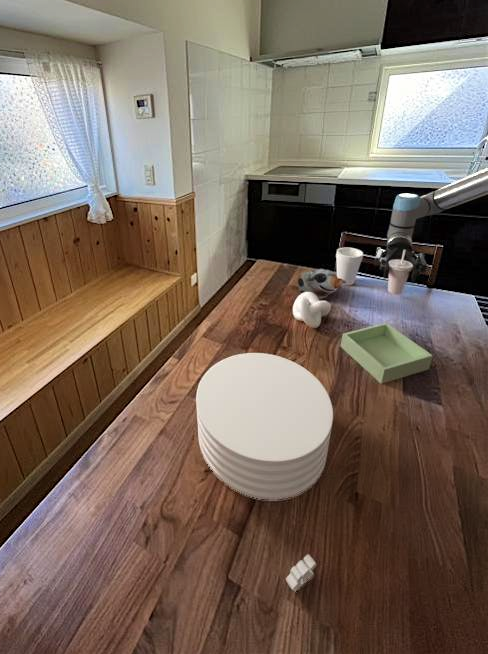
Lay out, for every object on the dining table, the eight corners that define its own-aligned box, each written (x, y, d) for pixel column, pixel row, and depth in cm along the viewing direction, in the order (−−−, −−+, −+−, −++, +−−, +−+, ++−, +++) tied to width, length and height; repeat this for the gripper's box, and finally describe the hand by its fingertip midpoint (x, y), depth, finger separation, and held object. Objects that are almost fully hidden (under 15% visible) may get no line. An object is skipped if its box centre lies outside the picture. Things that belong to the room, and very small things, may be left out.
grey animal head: (332, 284, 134) (349, 263, 123) (332, 309, 126) (351, 289, 116) (295, 273, 135) (309, 251, 124) (294, 297, 127) (309, 277, 116)
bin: (428, 369, 91) (433, 355, 89) (381, 383, 87) (384, 369, 85) (383, 335, 104) (386, 322, 102) (340, 346, 101) (342, 333, 99)
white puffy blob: (322, 310, 118) (325, 288, 115) (335, 331, 108) (338, 307, 104) (290, 311, 119) (291, 289, 115) (299, 332, 108) (301, 308, 104)
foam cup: (334, 286, 133) (338, 256, 127) (331, 275, 141) (334, 247, 135) (360, 288, 130) (365, 257, 125) (355, 276, 138) (360, 248, 133)
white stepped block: (307, 566, 54) (309, 551, 52) (314, 576, 53) (317, 561, 51) (284, 587, 52) (286, 572, 50) (291, 598, 51) (293, 583, 49)
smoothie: (410, 292, 104) (421, 251, 98) (399, 299, 101) (409, 256, 95) (390, 284, 109) (398, 244, 103) (378, 290, 106) (386, 249, 100)
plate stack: (191, 492, 65) (187, 453, 61) (204, 383, 91) (202, 350, 86) (342, 509, 61) (351, 469, 57) (312, 390, 86) (316, 355, 82)
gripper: (430, 261, 113) (437, 293, 95) (366, 252, 122) (360, 280, 104) (436, 240, 110) (443, 270, 92) (369, 233, 119) (364, 259, 101)
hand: (399, 275), depth 98 cm, fingers closed on smoothie, 6 cm apart
